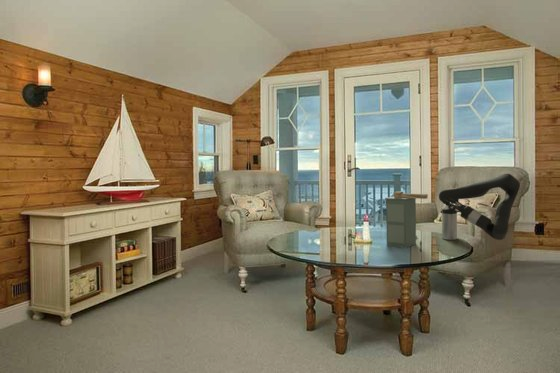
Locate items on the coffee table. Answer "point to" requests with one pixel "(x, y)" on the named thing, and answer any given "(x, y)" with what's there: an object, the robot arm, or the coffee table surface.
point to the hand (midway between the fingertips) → (446, 200)
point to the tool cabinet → (401, 221)
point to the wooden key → (410, 195)
